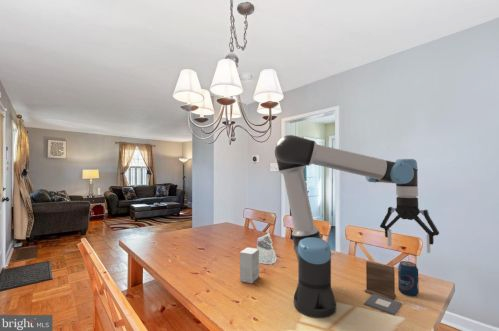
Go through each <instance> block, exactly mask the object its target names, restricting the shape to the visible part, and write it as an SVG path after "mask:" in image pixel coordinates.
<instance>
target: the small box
mask: <svg viewBox="0 0 499 331" xmlns="http://www.w3.org/2000/svg"><path fill="white" fill-rule="evenodd" d="M259 257H260V249H259V248H254V247H245V248H244V249H243V250H240V252H239V281H240V282H244V283H248V284H254V282H255V281H257V279H258V278H259V277H260V268H259V266H260V258H259Z"/></svg>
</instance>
